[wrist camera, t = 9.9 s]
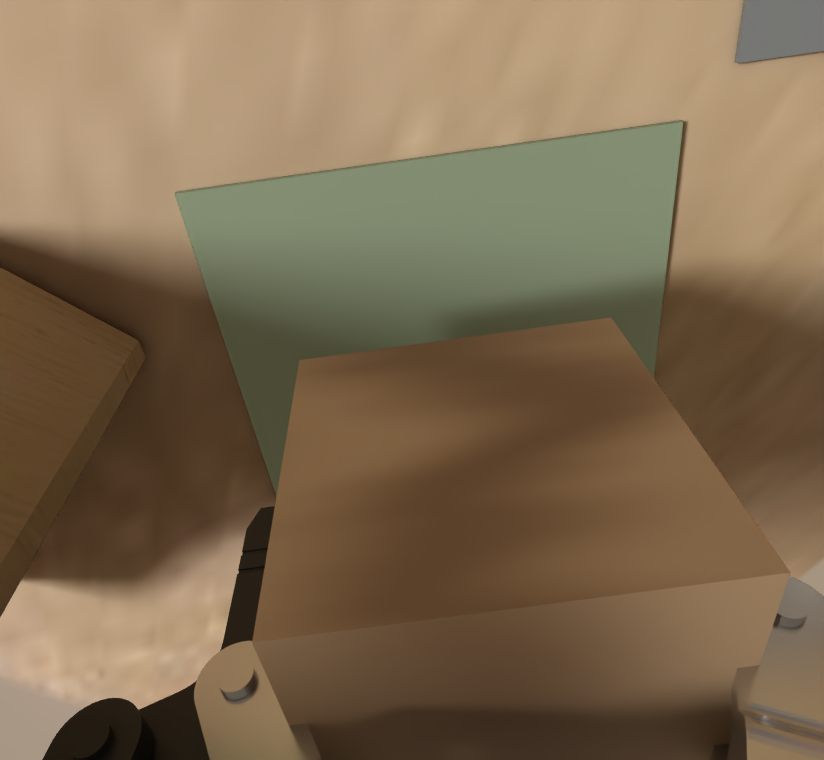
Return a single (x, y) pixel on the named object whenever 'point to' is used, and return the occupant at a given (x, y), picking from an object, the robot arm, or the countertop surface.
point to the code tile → (780, 29)
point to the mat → (434, 254)
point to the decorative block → (50, 411)
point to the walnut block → (507, 557)
